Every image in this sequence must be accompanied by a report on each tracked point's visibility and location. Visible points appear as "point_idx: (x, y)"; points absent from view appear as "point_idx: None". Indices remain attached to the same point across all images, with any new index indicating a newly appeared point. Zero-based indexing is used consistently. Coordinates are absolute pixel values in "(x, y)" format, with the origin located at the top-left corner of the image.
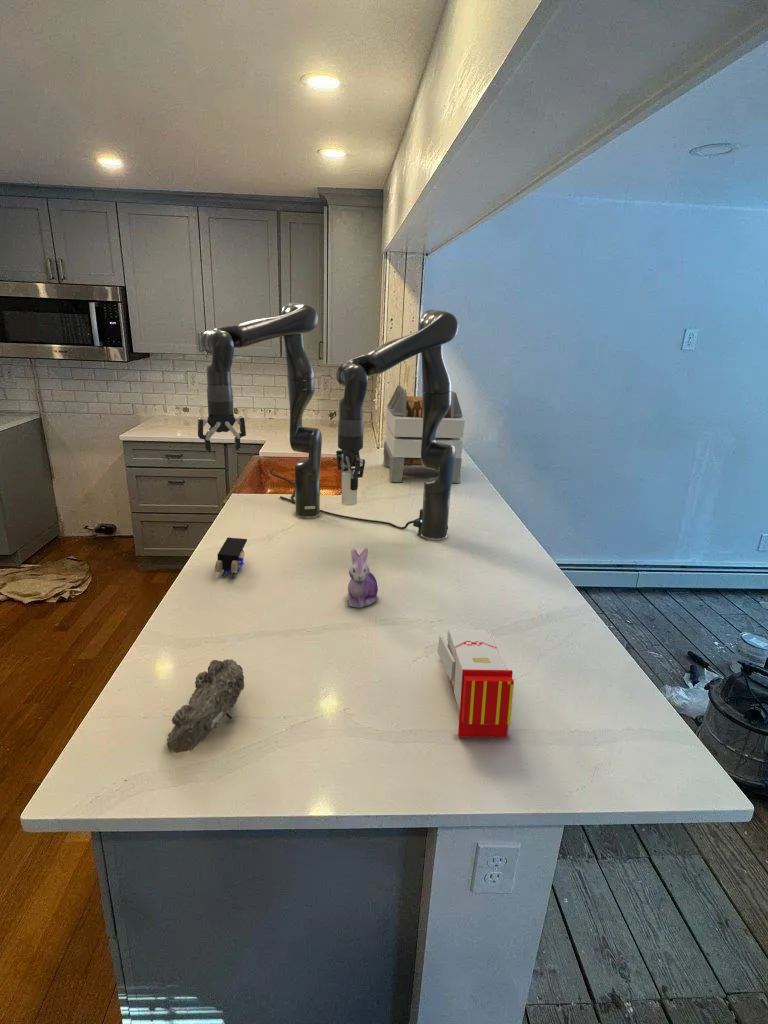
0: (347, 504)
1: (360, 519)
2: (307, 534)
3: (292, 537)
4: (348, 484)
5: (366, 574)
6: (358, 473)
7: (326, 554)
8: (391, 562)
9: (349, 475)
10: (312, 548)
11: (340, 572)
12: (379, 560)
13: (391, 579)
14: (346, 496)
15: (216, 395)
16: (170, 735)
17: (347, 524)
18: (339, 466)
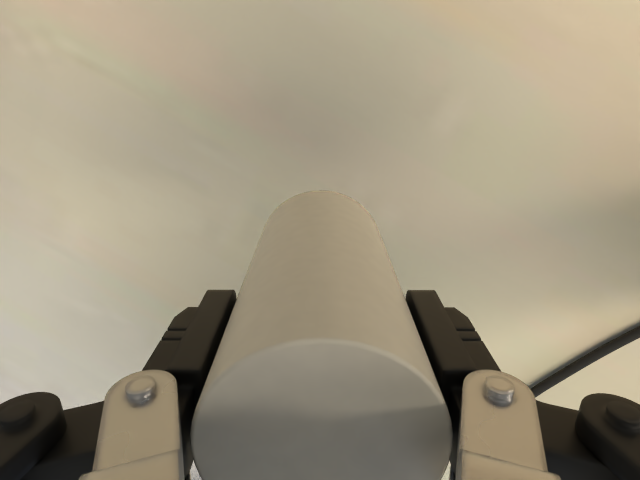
0: (274, 213)
1: (577, 363)
2: (601, 107)
3: (618, 22)
4: (238, 300)
5: None
6: None
7: (363, 81)
8: (189, 269)
9: (206, 391)
10: (452, 53)
11: (176, 48)
12: (220, 242)
13: (58, 198)
14: (273, 229)
15: None
16: None
17: (580, 305)
18: (619, 448)
